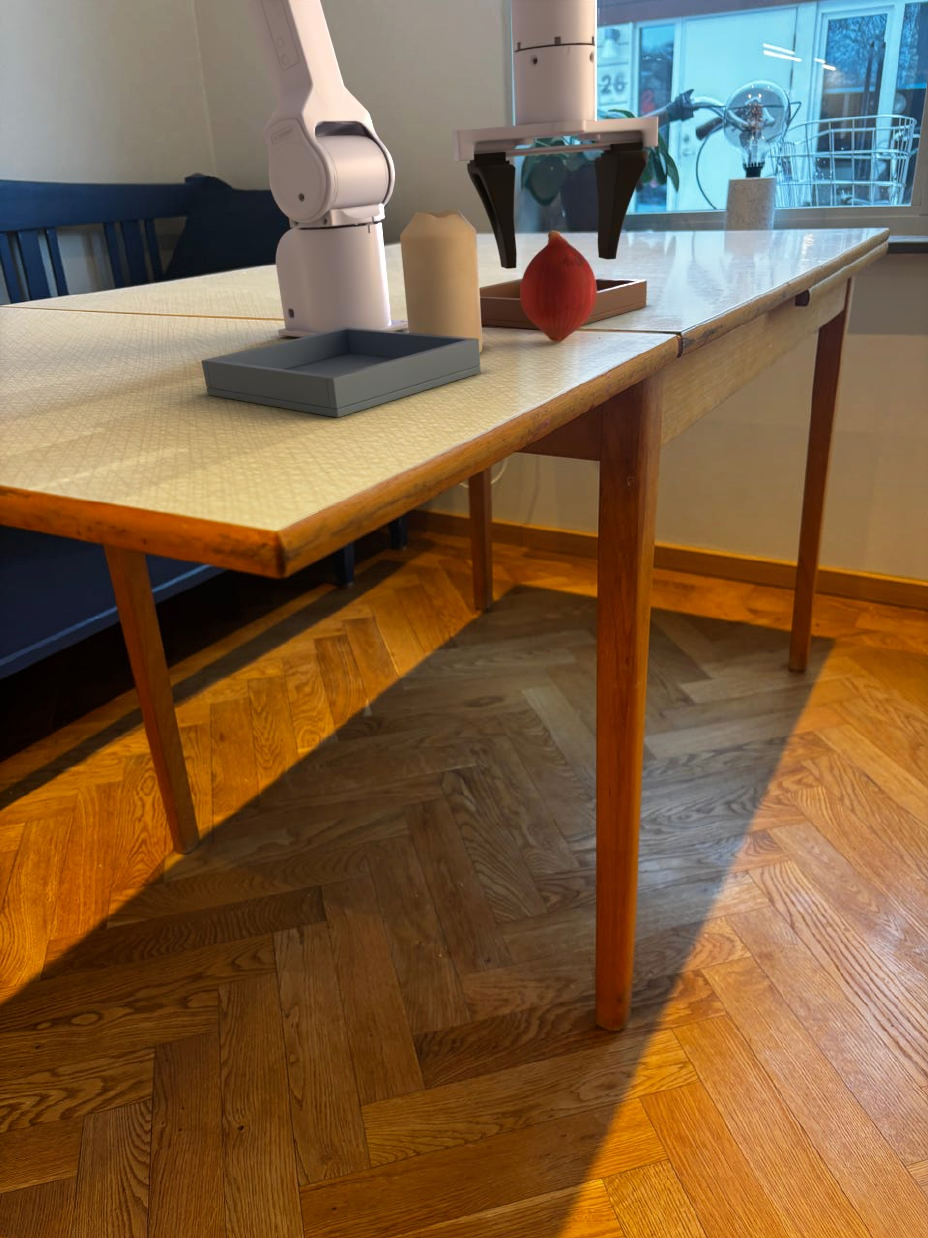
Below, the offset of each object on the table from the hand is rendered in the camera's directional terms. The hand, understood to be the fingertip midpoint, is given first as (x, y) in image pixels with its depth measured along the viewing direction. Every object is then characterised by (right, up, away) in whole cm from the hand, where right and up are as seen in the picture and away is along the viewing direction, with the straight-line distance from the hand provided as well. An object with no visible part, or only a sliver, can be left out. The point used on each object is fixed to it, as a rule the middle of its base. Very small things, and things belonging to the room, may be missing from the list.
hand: (558, 262), depth 68 cm
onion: (0, -5, +3) cm, 6 cm away
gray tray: (-15, -11, -6) cm, 20 cm away
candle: (-8, -7, +1) cm, 11 cm away
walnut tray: (0, +1, +15) cm, 15 cm away
